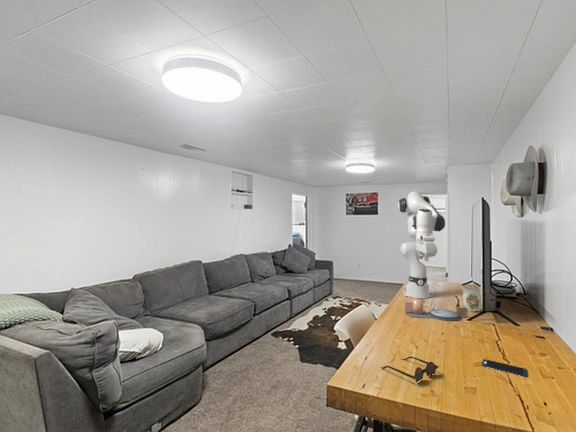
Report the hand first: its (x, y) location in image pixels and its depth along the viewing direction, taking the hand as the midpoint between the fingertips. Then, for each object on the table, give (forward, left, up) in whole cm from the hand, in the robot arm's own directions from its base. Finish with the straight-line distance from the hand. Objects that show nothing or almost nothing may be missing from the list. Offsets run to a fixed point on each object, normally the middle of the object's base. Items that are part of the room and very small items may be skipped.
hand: (423, 260), depth 189 cm
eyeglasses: (+76, -30, -32) cm, 87 cm away
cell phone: (+69, +7, -32) cm, 76 cm away
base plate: (+5, +10, -31) cm, 33 cm away
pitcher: (-10, +34, -31) cm, 48 cm away
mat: (+3, -4, -31) cm, 31 cm away
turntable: (+5, +13, -30) cm, 33 cm away
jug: (+3, -5, -31) cm, 31 cm away
